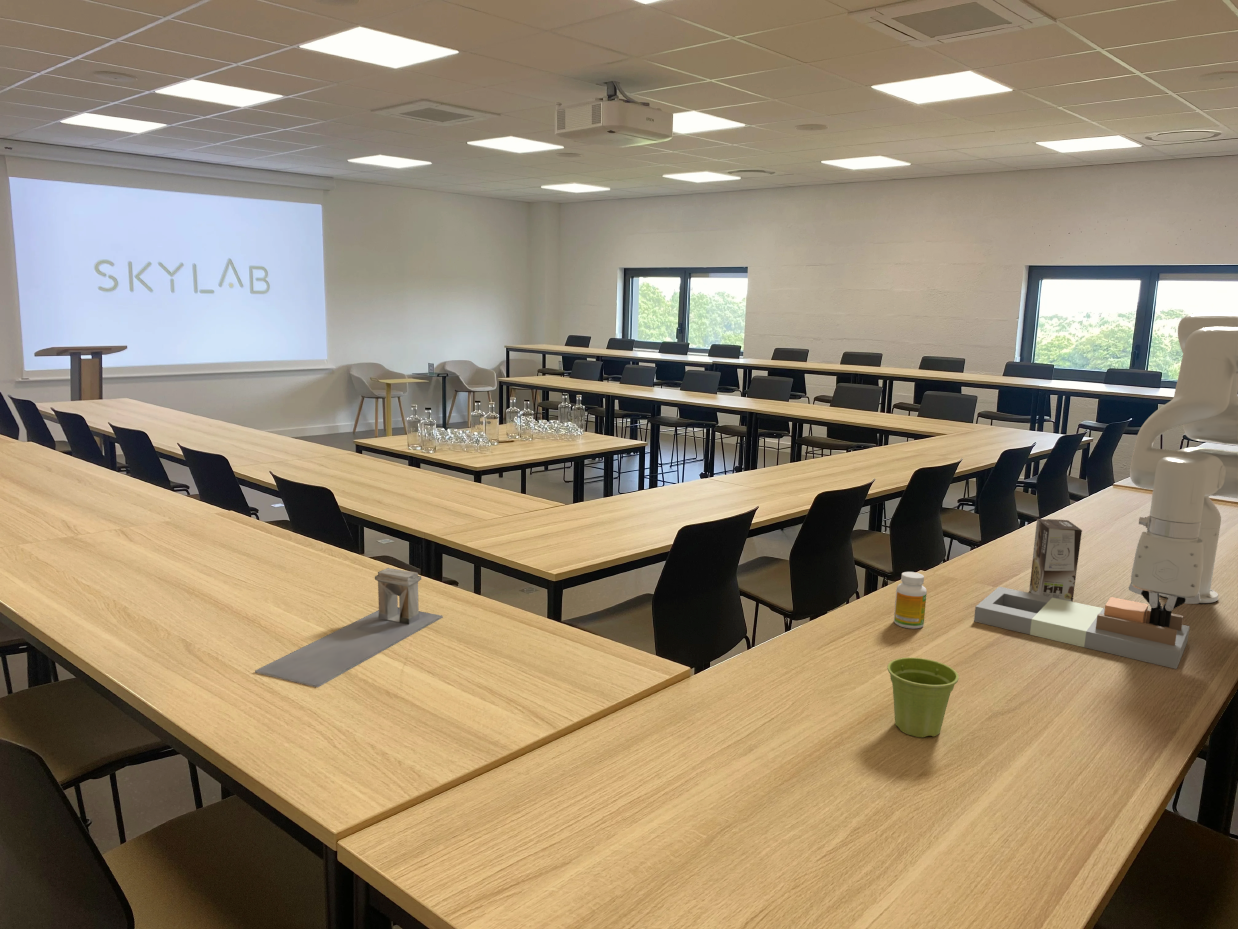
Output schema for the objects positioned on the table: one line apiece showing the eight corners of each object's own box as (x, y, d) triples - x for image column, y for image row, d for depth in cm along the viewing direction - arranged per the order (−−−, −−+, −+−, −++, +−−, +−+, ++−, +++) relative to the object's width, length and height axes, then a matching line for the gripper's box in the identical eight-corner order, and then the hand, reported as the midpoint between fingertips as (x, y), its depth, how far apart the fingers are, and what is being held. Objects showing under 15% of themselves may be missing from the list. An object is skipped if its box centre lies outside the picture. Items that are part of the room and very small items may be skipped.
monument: (442, 619, 160) (442, 569, 158) (318, 690, 130) (315, 629, 128) (387, 609, 165) (386, 560, 163) (255, 675, 135) (251, 616, 133)
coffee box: (1073, 607, 174) (1083, 530, 171) (1039, 604, 175) (1048, 527, 172) (1060, 593, 183) (1069, 519, 180) (1027, 590, 184) (1036, 517, 181)
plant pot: (944, 751, 115) (951, 691, 114) (874, 732, 120) (879, 674, 119) (958, 724, 123) (964, 667, 122) (892, 707, 128) (897, 652, 127)
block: (1108, 617, 160) (1110, 596, 159) (1145, 625, 156) (1148, 604, 155) (1102, 626, 155) (1105, 605, 154) (1140, 634, 151) (1143, 613, 151)
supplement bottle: (925, 630, 159) (930, 580, 157) (895, 627, 160) (899, 577, 159) (921, 620, 164) (926, 571, 163) (892, 617, 165) (896, 569, 164)
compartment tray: (997, 600, 177) (1000, 574, 176) (1187, 641, 157) (1191, 613, 156) (973, 621, 165) (976, 594, 164) (1176, 669, 144) (1181, 638, 143)
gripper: (1120, 525, 151) (1107, 624, 154) (1224, 540, 142) (1207, 646, 145) (1127, 517, 156) (1114, 613, 160) (1227, 532, 147) (1211, 633, 151)
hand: (1158, 628), depth 152 cm, fingers closed
